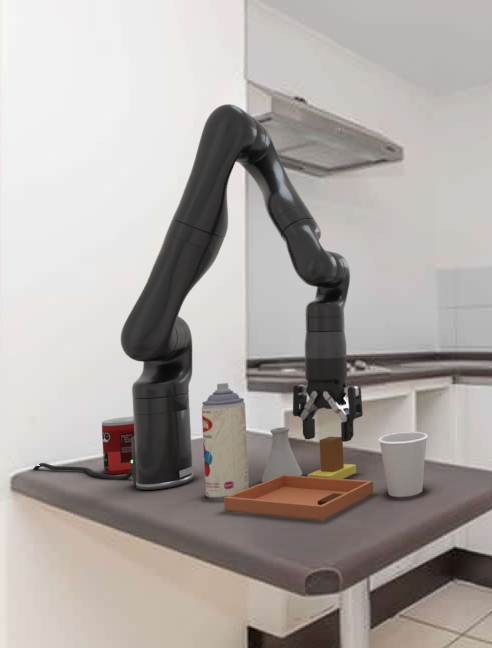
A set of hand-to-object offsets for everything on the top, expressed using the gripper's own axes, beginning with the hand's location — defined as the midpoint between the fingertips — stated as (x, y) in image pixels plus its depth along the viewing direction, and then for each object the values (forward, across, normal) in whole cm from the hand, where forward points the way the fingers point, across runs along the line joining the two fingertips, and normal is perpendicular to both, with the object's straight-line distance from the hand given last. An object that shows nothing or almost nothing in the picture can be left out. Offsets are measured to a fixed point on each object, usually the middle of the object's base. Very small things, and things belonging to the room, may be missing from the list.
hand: (327, 439), depth 106 cm
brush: (+8, 0, -1) cm, 8 cm away
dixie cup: (+8, -19, +4) cm, 21 cm away
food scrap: (+7, -11, +12) cm, 18 cm away
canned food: (+9, +51, +3) cm, 51 cm away
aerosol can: (+8, +12, +12) cm, 19 cm away
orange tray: (+8, -4, +13) cm, 16 cm away
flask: (+8, +10, +2) cm, 13 cm away
